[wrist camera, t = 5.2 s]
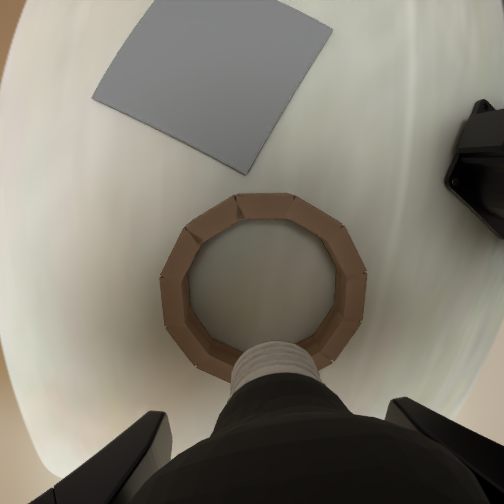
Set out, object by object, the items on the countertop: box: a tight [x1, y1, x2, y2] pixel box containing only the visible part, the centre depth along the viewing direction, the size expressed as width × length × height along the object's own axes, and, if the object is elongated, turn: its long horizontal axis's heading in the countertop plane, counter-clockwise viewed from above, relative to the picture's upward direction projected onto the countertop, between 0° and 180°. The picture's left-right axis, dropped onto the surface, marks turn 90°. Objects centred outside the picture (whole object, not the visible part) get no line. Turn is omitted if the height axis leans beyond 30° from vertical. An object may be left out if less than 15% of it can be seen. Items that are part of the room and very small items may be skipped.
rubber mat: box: [92, 0, 333, 175], centre depth 14 cm, size 9×9×1 cm
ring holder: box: [160, 193, 367, 383], centre depth 16 cm, size 10×10×2 cm
